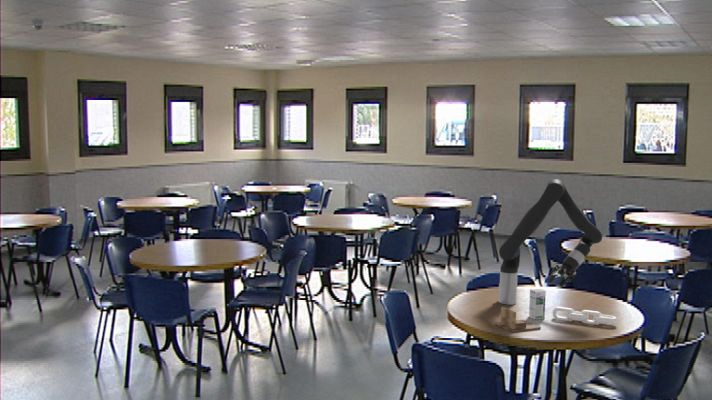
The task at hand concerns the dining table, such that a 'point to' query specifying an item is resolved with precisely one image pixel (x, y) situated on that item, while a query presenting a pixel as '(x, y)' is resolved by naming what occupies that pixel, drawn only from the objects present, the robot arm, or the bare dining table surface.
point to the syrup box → (537, 304)
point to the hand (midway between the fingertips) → (554, 284)
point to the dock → (514, 322)
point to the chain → (584, 316)
